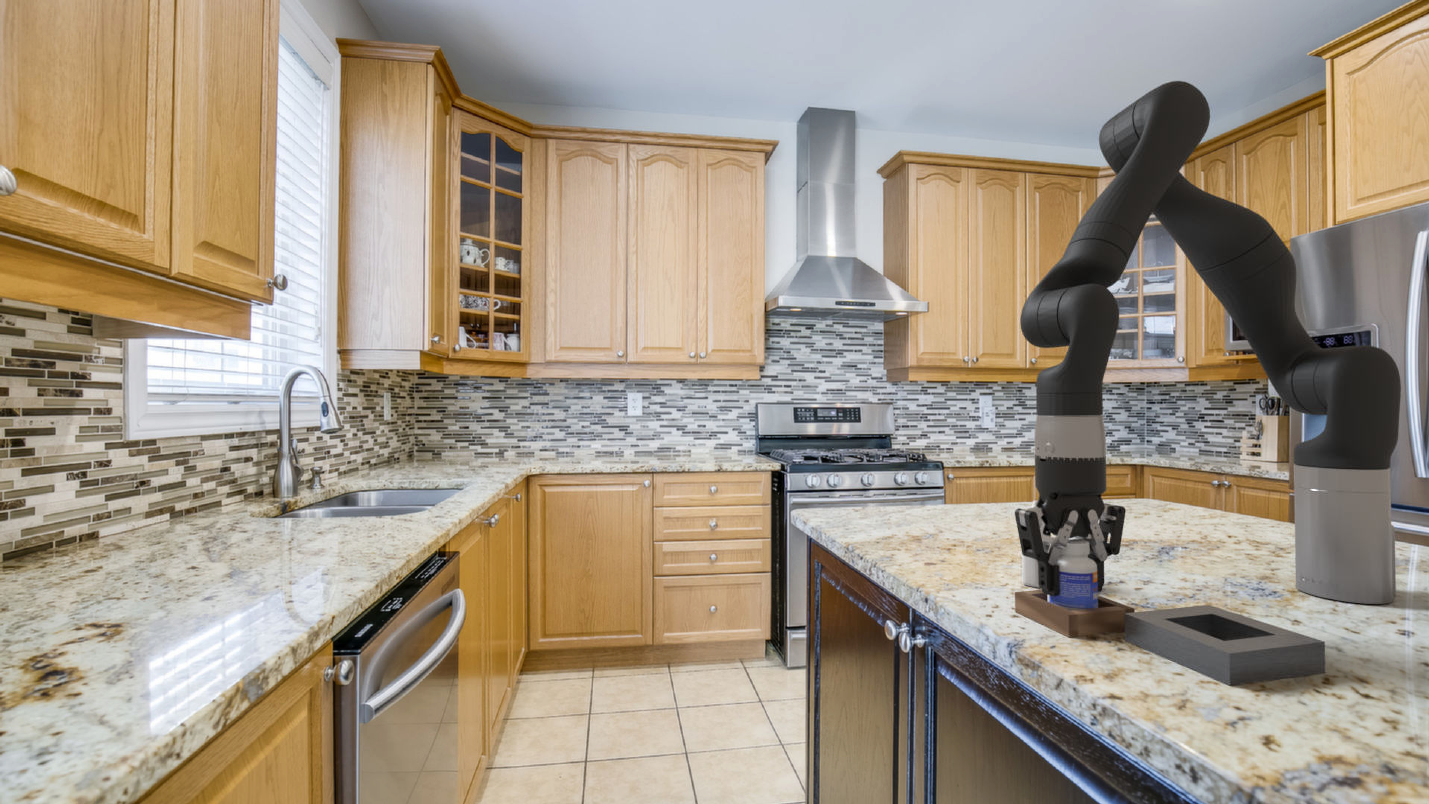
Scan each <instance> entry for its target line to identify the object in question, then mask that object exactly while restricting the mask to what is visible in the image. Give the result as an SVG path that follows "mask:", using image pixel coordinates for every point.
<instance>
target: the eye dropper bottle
mask: <svg viewBox="0 0 1429 804" xmlns="http://www.w3.org/2000/svg"><path fill="white" fill-rule="evenodd" d="M1037 502H1038V500H1033V501H1032V505H1031V508H1033V507H1036V504H1037ZM1040 521H1041V522H1042V523H1043V521H1042V519H1041V518H1040ZM1039 526H1040V528H1041V526H1042V524H1041V525H1039ZM1050 547H1051V545H1050ZM1050 547H1049V550H1050ZM1049 550H1048V553H1049ZM1021 561H1022V562H1021V565H1022V566H1021V569H1022V571H1021V574H1022V575H1021V576H1022V577H1021V578H1022V580H1021V581H1022V584H1023V585H1025V586H1027V587H1031V588H1032V587H1033V588H1039V589H1041V588H1040V587H1039V583H1038V580H1039V579H1038V562H1037V560H1035V559H1033V558H1030V557H1026V556H1024V555H1023V554H1022V553H1021Z"/></svg>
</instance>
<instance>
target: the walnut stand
mask: <svg viewBox="0 0 1429 804" xmlns="http://www.w3.org/2000/svg"><path fill="white" fill-rule="evenodd" d="M1014 612H1015V613H1017V614H1018V615H1020V616H1023V617H1025V618H1028V620H1031V621H1033V622H1036V623H1038V624H1040V625H1041V626H1045V627H1046V628H1048V629H1050V630H1053V631H1055V632H1056V633H1059V634H1061V635H1063V636H1066V637H1067V638H1075V637H1084V636H1092V635H1094V636H1095V635H1103V634H1112V633H1121V632H1125V614H1124V613H1133V612H1136V611H1135V607H1131V606H1129V605H1126V604H1123V603H1120V602H1118V601H1115V600H1112V599H1109V598H1107V597H1105V596H1101V595H1099V594H1098V608H1093V609H1083V610H1073V611H1069V610H1066V609H1064V608H1062V607H1059V606H1057V605H1054V604H1052V603H1050V602H1047V594H1045V593H1043V592H1042V590H1041V589H1036V590H1035V589H1034V590H1024V591H1023V590H1022V591H1014Z"/></svg>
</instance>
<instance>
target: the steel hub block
mask: <svg viewBox="0 0 1429 804" xmlns="http://www.w3.org/2000/svg"><path fill="white" fill-rule="evenodd" d="M1124 614H1125V631H1124V641H1125V642H1128V643H1130V644H1131V645H1135V646H1136V647H1139V648H1140V649H1144V650H1146V651H1148V652H1150V653H1152V654H1153V653H1154V654H1155V655H1158V656H1160V657H1162V658H1164V659H1167V660H1169V661H1172V662H1174V663H1177V664H1178V665H1181V666H1184V667H1185V668H1188V669H1190V670H1193V671H1194V672H1195V671H1196V672H1198V673H1200V674H1202V675H1203V676H1206V677H1209V678H1212V679H1213V680H1216V681H1218V682H1221V683H1223V684H1225V685H1228V686H1238V685H1245V684H1246V685H1247V684H1253V683H1258V682H1259V683H1260V682H1267V681H1275V680H1280V679H1281V680H1282V679H1289V678H1290V679H1291V678H1297V677H1303V676H1305V677H1306V676H1311V675H1318V674H1325V673H1326V642H1325V641H1324V640H1320V639H1317V638H1314V637H1312V636H1311V637H1310V636H1308V635H1305V634H1303V633H1302V634H1301V633H1299V632H1295V631H1292V630H1288V629H1285V628H1282V627H1279V626H1276V625H1273V624H1270V623H1267V622H1264V621H1261V620H1258V619H1254V618H1251V617H1249V616H1244V615H1241V614H1239V613H1235V612H1232V611H1229V610H1226V609H1222V608H1219V607H1218V606H1217V607H1216V606H1212V604H1211V605H1209V604H1204V605H1203V604H1202V605H1194V606H1183V607H1175V608H1163V609H1155V610H1146V611H1144V610H1143V611H1135V612H1133V613H1124Z"/></svg>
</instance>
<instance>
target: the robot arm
mask: <svg viewBox="0 0 1429 804" xmlns="http://www.w3.org/2000/svg"><path fill="white" fill-rule="evenodd" d="M1210 119H1211V111H1210V106H1209V102H1208V100H1207V99H1206V97H1205V95H1204V94H1203V92H1202V91H1201V90H1200V89H1199V88H1198V87H1197V86H1195V85H1193V84H1191V83H1190V82H1187V81H1183V80H1173V81H1169V82H1165V83H1163V84H1161V85H1158V86H1157V87H1155V88H1153V89H1151V90H1150V91H1148V92H1147V93H1145V94H1144V95H1142V96H1141V97H1140V98H1138V99H1136V100H1135V101H1134V102H1133V103H1131V104H1129V105H1128V106H1127V107H1125V108H1124V109H1122V110H1121V111H1119V112H1117V114H1115V115H1114V116H1112V117H1111V118H1109V119H1108V120H1107V121H1106V122H1105V123H1103V125H1102V127H1101V128H1100V131H1099V136H1098V141H1099V148H1100V151H1101V153H1102V156H1103V158H1104V159H1105V161H1106V163H1107V164H1108V166H1109V167H1110V168H1111V169H1112V171H1113V172H1114V173H1115V175H1116V176H1115V177H1114V178H1113V179H1112V180H1111V181H1110V183H1109V184H1108V185H1107V186H1106V188H1105V189H1104V190H1103V191H1102V192H1101V193H1100V194H1099V195H1098V197H1097V198H1096V199H1095V200H1094V202H1093V203H1092V204H1091V205H1090V206H1089V208H1088V209H1087V211H1086V212H1085V213H1084V214H1083V216H1082V218H1081V219H1080V221H1079V223H1078V224H1077V226H1076V228H1075V230H1074V232H1073V234H1072V235H1071V238H1070V240H1069V242H1068V244H1067V246H1066V249H1065V251H1064V253H1063V255H1062V256H1061V258H1060V259H1059V261H1058V262H1057V263H1056V264H1055V265H1053V266H1052V268H1051V269H1050V270H1049V271H1048V272H1047V273H1046V274H1045V276H1043V278H1042V279H1041V280H1040V281H1039V282H1038V283H1037V285H1036V286H1035V287H1034V288H1033V290H1032V291H1030V293H1029V295H1028V296H1027V298H1026V300H1025V302H1024V304H1023V307H1022V308H1021V314H1020V329H1021V333H1022V335H1023V337H1024V338H1025V340H1026V341H1027V342H1028V343H1029V344H1031V345H1032V346H1034V347H1037V348H1043V349H1052V348H1053V349H1054V348H1063V347H1068V349H1067V351H1066V354H1065V355H1064V356H1065V357H1064V358H1063V359H1062V361H1061V362H1060V363H1058V364H1055V365H1053V366H1050V367H1046V368H1044V369H1042V370H1041V371H1040V372H1039V373H1038V375H1037V376H1036V384H1035V385H1036V386H1035V389H1036V395H1035V396H1036V397H1035V398H1036V399H1035V400H1036V403H1035V405H1036V406H1035V407H1036V408H1035V409H1036V421H1035V428H1034V478H1035V479H1034V486H1035V488H1036V489H1037V491H1038V499H1037V501H1038V502H1037V504H1036V507H1033V508H1032V507H1030V508H1027V509H1025V508H1016V509H1015V511H1014V517H1015V521H1016V522H1015V523H1016V527H1017V533H1018V538H1019V543H1020V549H1021V555H1022V554H1023V555H1024V556H1026V557H1030V558H1033V559H1035V560H1037V562H1038V579H1039V580H1038V583H1039V587H1040V588H1039V589H1040V590H1042V592H1043V593H1045V594H1048V595H1050V596H1058V595H1059V593H1060V589H1059V565H1056V564H1057V562H1058V560H1059V557H1060V554H1061V551H1062V549H1063V548H1065V547H1066V546H1067V543H1068V540H1069V538H1079V539H1084V540H1087V541H1088V542H1089V547H1090V554H1088V558H1090V559H1092V560H1093V561H1094V562H1095V563H1096V565H1097V582H1098V593H1099V592H1102V591H1103V587H1104V585H1105V561H1107V560H1108V557H1110V556H1112V555H1113V556H1118V555H1119V554H1120V552H1121V546H1122V537H1123V533H1124V526H1125V525H1124V524H1125V518H1126V508H1125V506H1123V505H1122V506H1121V505H1118V504H1117V505H1116V504H1111V503H1105V502H1104V501H1103V497H1102V495H1103V494H1104V493H1106V491H1107V447H1106V446H1107V444H1106V442H1107V437H1106V428H1105V423H1104V415H1103V413H1104V411H1103V410H1104V407H1103V406H1104V405H1103V403H1104V402H1103V392H1104V391H1103V390H1104V389H1103V381H1104V378H1105V374H1106V372H1107V371H1106V370H1107V366H1108V363H1109V359H1110V356H1111V352H1112V349H1113V345H1114V342H1115V340H1116V335H1117V332H1118V327H1119V325H1120V322H1119V321H1120V308H1119V305H1118V301H1117V300H1116V297H1115V296H1114V294H1113V292H1112V291H1111V290H1109V288H1110V287H1112V286H1114V285H1115V284H1117V282H1118V281H1119V280H1120V279H1121V277H1122V275H1123V274H1124V271H1125V270H1126V267H1127V265H1128V263H1129V262H1130V261H1129V260H1130V258H1131V256H1132V254H1133V252H1134V250H1135V247H1136V246H1137V244H1138V240H1139V239H1140V237H1141V234H1142V232H1143V230H1144V228H1145V226H1146V224H1147V223H1148V221H1149V219H1150V217H1151V215H1152V214H1153V215H1154V217H1155V218H1156V219H1157V221H1158V222H1159V223H1160V225H1162V227H1163V228H1164V229H1165V230H1166V232H1167V233H1168V234H1169V235H1170V237H1171V238H1172V239H1173V241H1174V242H1175V243H1176V244H1177V246H1178V247H1179V248H1180V250H1181V251H1182V253H1184V255H1185V256H1186V258H1187V259H1188V261H1189V263H1190V264H1191V266H1192V267H1193V269H1194V270H1195V271H1196V273H1197V274H1198V276H1199V278H1200V279H1201V280H1202V281H1203V282H1204V283H1205V285H1206V287H1207V288H1208V289H1209V291H1211V293H1212V294H1213V295H1214V297H1216V299H1217V300H1218V301H1219V303H1220V304H1221V305H1222V306H1223V309H1225V311H1226V312H1227V314H1228V315H1229V317H1230V318H1231V320H1232V321H1233V322H1234V324H1235V326H1236V327H1237V328H1238V330H1239V332H1241V334H1242V335H1243V337H1244V338H1245V339H1246V341H1247V344H1249V347H1250V348H1251V349H1252V351H1253V353H1254V354H1255V357H1256V358H1257V360H1258V362H1259V364H1260V365H1261V367H1262V368H1263V372H1264V373H1265V374H1266V376H1267V379H1268V381H1269V382H1270V383H1271V386H1273V388H1274V390H1275V392H1276V393H1277V395H1278V396H1279V397H1280V400H1282V402H1283V403H1284V404H1286V405H1287V406H1288V407H1290V409H1293V410H1294V411H1296V412H1299V413H1300V414H1301V413H1302V414H1305V415H1310V416H1311V415H1312V416H1326V420H1325V421H1326V422H1325V426H1324V429H1323V431H1322V432H1321V433H1320V434H1318V435H1316V437H1312V438H1311V439H1308V440H1305V441H1301V442H1299V443H1297V444H1296V445H1295V446H1294V449H1293V489H1294V490H1293V491H1294V493H1293V494H1294V501H1293V502H1294V547H1295V550H1294V551H1295V552H1294V553H1295V555H1294V556H1295V557H1294V559H1295V561H1294V562H1295V587H1296V589H1297V590H1299V591H1301V592H1303V593H1305V594H1309V595H1312V596H1316V597H1320V598H1325V599H1329V600H1333V601H1334V600H1335V601H1341V602H1348V603H1359V604H1369V605H1371V604H1372V605H1383V604H1390V603H1392V602H1393V601H1394V600H1393V598H1396V597H1397V590H1396V589H1397V584H1396V583H1397V582H1396V581H1397V580H1396V579H1397V578H1396V577H1397V576H1396V529H1395V526H1394V525H1393V524H1392V496H1391V495H1392V492H1391V490H1392V489H1391V461H1392V460H1391V459H1392V455H1393V453H1394V450H1395V449H1396V447H1397V445H1398V440H1399V439H1398V438H1399V428H1400V410H1401V396H1402V395H1401V393H1402V392H1401V391H1402V387H1401V386H1402V385H1401V384H1402V383H1401V376H1400V371H1399V367H1398V365H1397V363H1396V362H1395V359H1394V358H1393V357H1392V356H1391V354H1390V353H1389V352H1387V351H1385V350H1384V349H1383V348H1380V347H1376V346H1373V345H1350V346H1339V347H1338V346H1337V347H1329V348H1322V347H1321V346H1319V344H1317V343H1316V342H1315V340H1314V339H1313V338H1312V337H1311V336H1310V334H1308V332H1307V331H1306V329H1305V328H1304V326H1303V325H1302V323H1301V321H1300V319H1299V318H1298V315H1297V312H1296V305H1295V303H1296V301H1295V300H1296V291H1297V290H1296V289H1297V266H1296V261H1295V259H1294V255H1293V254H1292V253H1291V251H1290V249H1289V248H1288V247H1287V245H1286V244H1285V243H1284V241H1283V240H1282V239H1281V237H1280V235H1278V233H1277V232H1276V230H1275V229H1274V227H1273V226H1272V225H1271V224H1270V222H1269V221H1268V220H1267V219H1266V218H1265V217H1263V216H1262V215H1260V214H1259V213H1257V212H1256V211H1253V210H1252V209H1249V208H1248V207H1245V206H1243V205H1240V204H1239V203H1235V202H1234V201H1233V202H1232V201H1231V200H1228V199H1226V198H1222V197H1219V196H1217V195H1215V194H1212V193H1209V192H1208V191H1205V190H1203V189H1201V188H1199V187H1198V186H1196V185H1195V184H1193V183H1191V181H1190V180H1189V179H1187V178H1186V177H1185V176H1184V175H1183V174H1182V173H1181V170H1182V168H1183V166H1184V165H1185V163H1186V162H1187V161H1188V160H1189V158H1190V157H1191V155H1192V154H1193V152H1194V151H1195V150H1196V148H1197V147H1198V145H1200V143H1201V141H1202V140H1203V138H1204V137H1205V135H1206V133H1207V132H1208V131H1207V130H1208V129H1209V126H1210V121H1211V120H1210ZM1040 518H1041V519H1042V521H1043V523H1042V522H1041V521H1040ZM1041 524H1042V526H1041V528H1040V526H1039V525H1041ZM1052 535H1053V536H1055V537H1052ZM1109 535H1110V536H1109ZM1108 538H1109V542H1108ZM1050 545H1051V547H1050ZM1049 547H1050V550H1049ZM1048 550H1049V553H1048Z"/></svg>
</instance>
